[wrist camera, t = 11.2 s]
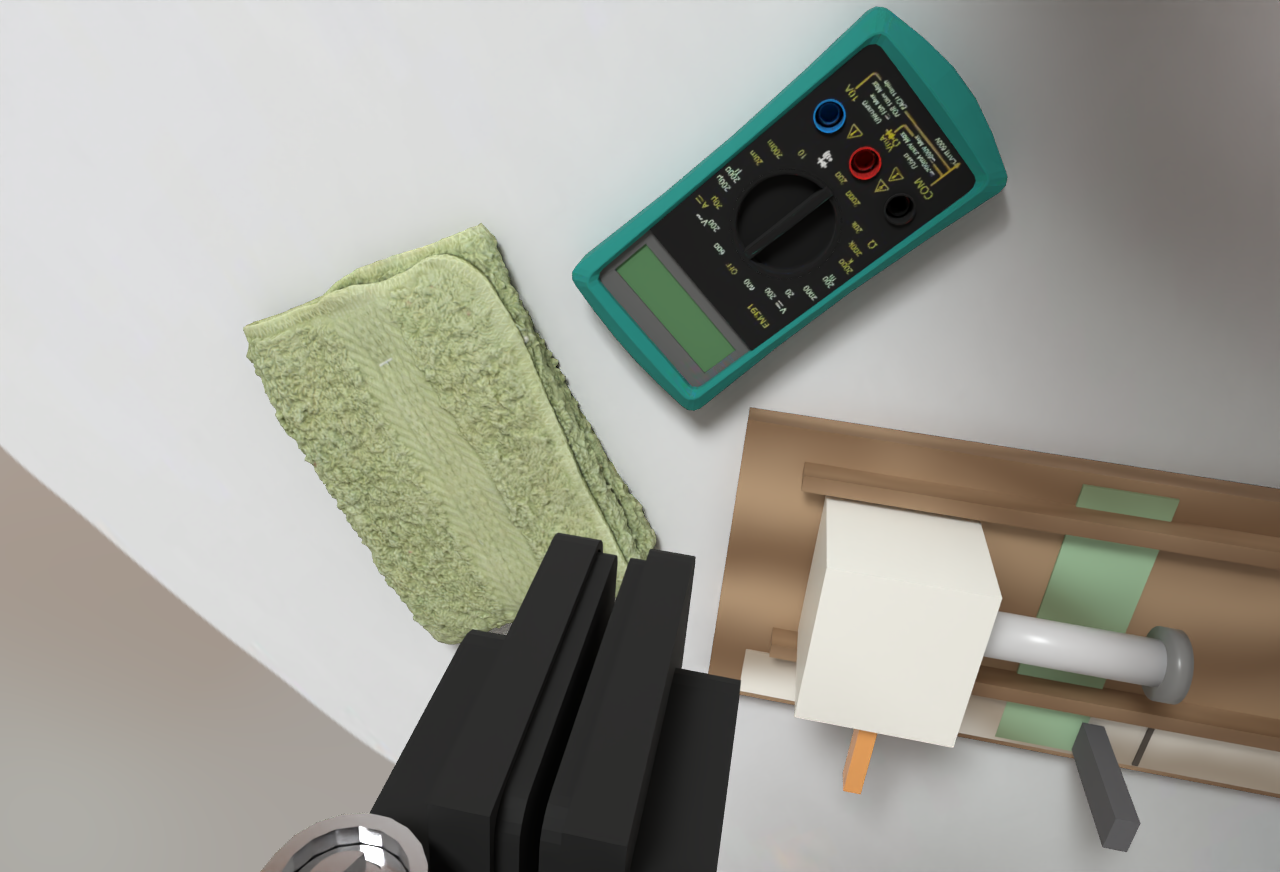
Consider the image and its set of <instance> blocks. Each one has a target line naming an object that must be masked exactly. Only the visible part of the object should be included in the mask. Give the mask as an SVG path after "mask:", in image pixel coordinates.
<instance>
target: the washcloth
mask: <svg viewBox="0 0 1280 872" xmlns="http://www.w3.org/2000/svg"><path fill="white" fill-rule="evenodd" d="M532 325H533V322H532V320H531V316H529V315H528V311H527V310H525V309H524V308H523V306H522V300H519V295H518V292H517V291H516V290H515V289H514V287H513V286H511V285H510V277H508V269H506V267H505V264H504V263H503V260H502V256H501V255H500V253H499V251H498V250H497V241H496V238H495V236H493V235H492V234H491V233H490V232H489V231H488V229H487V228H486V227H485V226H484V225H483V224H482V223H480V224H479V225H478V226H475V227H471V228H468V229H467V230H465V231H463V232H459V233H457V234H455V235H452V236H450V237H447V238H444V239H441V240H440V241H438V242H435V243H433V244H430V245H427V246H425V247H422V248H417V249H415V250H411V251H407V252H404V253H402V254H398V255H394V256H391V257H389V258H387V259H384V260H380V261H376V262H374V263H372V264H370V265H366V266H364V267H361V268H358V269H356V270H354V271H353V272H352V273H351V274H349V275H347V276H345V277H343V278H342V279H341V280H339V281H338V282H336V283H335V284H334V285H333V286H332V287H331V288H330V289H329V290H328V291H327V292H326V293H325V294H324V295H323V296H321V297H318V298H316V299H314V300H312V301H310V302H307V303H305V304H303V305H300V306H297V307H295V308H292V309H290V310H288V311H286V312H283V313H281V314H278V315H275V316H271V317H268V318H266V319H262V320H259V321H255V322H253V323H251V324H249V325H246V326H245V327H244V328H243V331H244V333H245V335H246V337H247V341H248V343H249V347H248V352H247V355H246V357H247V358H248V359H249V360H250V361H251V363H254V368H255V373H256V375H258V376H260V377H261V379H262V383H263V385H264V389H265V393H266V394H267V395H268V397H269V400H270V403H271V404H272V406H273V407H274V408H275V409H276V414H275V416H276V417H277V419H278V421H279V422H280V425H281V426H282V427H283V428H284V430H285V432H286V433H287V435H289V436H290V437H292V438H293V439H295V440H296V441H297V443H298V448H299V449H301V451H302V452H303V453H304V454H305V455H306V457H305V461H307V462H309V463H311V464H312V465H313V466H314V468H315V472H316V473H317V474H318V476H319V479H320V480H321V481H323V484H326V485H325V486H326V489H327V490H328V493H329V494H331V496H332V498H335V499H337V502H338V504H337V507H338V508H339V509H340V510H342V511H343V513H344V514H346V519H347V522H349V523H350V524H351V526H352V528H353V529H354V530H355V531H356V532H357V533H358V537H360V538H362V544H364V545H366V546H367V547H368V548H369V549H370V551H371V552H372V558H373V563H375V565H376V567H377V568H378V571H379V573H380V574H381V575H383V576H385V581H386V582H387V584H388V586H390V587H392V588H393V589H394V590H395V591H396V594H398V595H399V596H400V599H401V601H402V602H404V603H406V604H407V607H408V608H409V610H410V611H411V612H412V613H413V615H414V616H413V620H414V621H416V622H418V623H419V624H420V625H421V626H423V628H424V629H426V630H427V631H428V632H429V633H430V634H431V635H432V636H433V638H434V639H436V640H437V641H438V642H442V643H445V644H450V645H452V644H457V643H461V642H462V640H463V639H464V637H465V636H466V634H467V633H468V632H469V631H471V630H472V629H474V630H480V631H485V632H488V631H490V630H492V629H493V628H500V627H501V626H503V625H505V624H506V623H512V622H513V621H514V619H515V617H516V615H517V613H518V611H519V608H520V606H521V604H522V602H523V600H524V598H525V596H526V594H527V592H528V590H529V587H530V585H531V583H532V581H533V579H534V577H535V575H536V573H537V571H538V569H539V566H540V564H541V562H542V560H543V558H544V556H545V554H546V552H547V550H548V548H549V545H550V543H551V541H552V539H553V537H554V536H555V534H556V533H564V534H569V535H575V536H581V537H587V538H592V539H598V540H602V542H603V553H608V554H613V555H617V557H618V567H617V579H616V592H615V597H617V595H618V592H619V589H620V586H621V583H622V580H623V577H624V574H625V571H626V568H627V565H628V562H629V560H630V558H636V559H642V560H646V559H647V556H648V553H649V550H650V549H654V548H653V547H654V546H655V544H656V535H655V532H654V530H653V529H651V528H650V525H649V523H648V521H647V520H646V518H645V517H644V514H643V512H642V508H643V507H642V505H641V504H640V503H639V502H638V501H637V500H636V499H635V497H633V495H632V494H629V493H628V487H627V485H626V484H624V483H623V481H622V479H621V477H620V476H619V475H618V473H617V471H616V469H615V467H614V465H613V464H612V462H611V461H609V460H608V459H607V455H606V454H605V453H604V451H603V449H602V446H601V444H600V441H599V439H598V438H597V436H596V435H595V433H594V432H593V430H592V429H591V424H590V423H589V422H588V421H587V420H586V417H585V416H584V415H583V414H582V413H581V411H580V410H579V408H578V402H577V401H576V400H575V399H574V397H573V396H571V392H570V390H569V388H568V387H567V385H566V384H565V382H564V381H565V378H566V377H565V376H564V375H563V374H562V373H561V371H560V369H558V368H556V366H557V365H558V360H557V359H554V358H551V356H552V352H550V351H549V350H547V349H546V347H545V345H544V344H545V340H544V339H540V338H539V334H538V333H535V332H534V330H533V327H532Z"/></svg>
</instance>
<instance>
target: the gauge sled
mask: <svg viewBox="0 0 1280 872" xmlns="http://www.w3.org/2000/svg"><path fill="white" fill-rule="evenodd" d="M1001 601H1002V596H1001V592H1000V589H999V585H998V582H997V578H996V575H995V571H994V568H993V564H992V561H991V557H990V554H989V550H988V547H987V543H986V540H985V536H984V533H983V529H982V526H981V522H980V520H974V519H968V518H962V517H956V516H950V515H944V514H938V513H932V512H925V511H919V510H913V509H907V508H901V507H895V506H889V505H883V504H877V503H871V502H865V501H858V500H852V499H846V498H840V497H834V496H828V495H826V497H825V502H824V506H823V511H822V516H821V521H820V526H819V530H818V535H817V540H816V545H815V550H814V554H813V559H812V564H811V569H810V574H809V579H808V583H807V588H806V593H805V598H804V603H803V607H802V612H801V617H800V622H799V627H798V642H797V665H796V689H795V712H794V717H796V718H801V719H807V720H812V721H817V722H822V723H827V724H832V725H838V726H843V727H848V728H853V729H854V731H853V735H852V739H851V743H850V747H849V751H848V755H847V758H846V762H845V766H844V770H843V791H847V792H852V793H856V794H861V791H862V787H863V784H864V780H865V776H866V773H867V769H868V765H869V762H870V758H871V754H872V751H873V747H874V743H875V740H876V736H877V733H879V734H884V735H889V736H894V737H900V738H905V739H910V740H915V741H920V742H925V743H931V744H936V745H941V746H946V747H951V748H953V747H954V744H955V741H956V738H957V735H958V732H959V729H960V726H961V723H962V720H963V717H964V713H965V710H966V707H967V704H968V701H969V698H970V695H971V692H972V689H973V686H974V683H975V680H976V677H977V674H978V671H979V668H980V665H981V662H982V659H983V656H984V657H989V658H995V659H1000V660H1006V661H1011V662H1017V663H1022V664H1028V665H1033V666H1039V667H1044V668H1050V669H1055V670H1061V671H1066V672H1072V673H1077V674H1083V675H1088V676H1094V677H1100V678H1105V679H1111V680H1116V681H1122V682H1127V683H1133V684H1138V685H1141V686H1142V689H1143V691H1144V693H1145V695H1146V696H1147V698H1148V699H1150V700H1152V701H1156V702H1162V703H1167V704H1173V705H1175V704H1178V703H1180V702H1181V701H1182V700H1183V699H1184V698H1185V697H1186V695H1187V693H1188V691H1189V689H1190V686H1191V682H1192V678H1193V671H1194V655H1193V649H1192V645H1191V642H1190V639H1189V637H1188V636H1187V634H1186V633H1185V632H1184V631H1182V630H1180V629H1174V628H1168V627H1162V626H1156V627H1154V628H1152V629H1151V630H1150V631H1149V633H1148V634H1147V636H1146V637H1143V636H1137V635H1131V634H1125V633H1120V632H1114V631H1108V630H1103V629H1097V628H1091V627H1085V626H1080V625H1074V624H1068V623H1063V622H1057V621H1051V620H1046V619H1040V618H1034V617H1028V616H1023V615H1017V614H1011V613H1006V612H1000V611H998V610H999V607H1000V604H1001Z"/></svg>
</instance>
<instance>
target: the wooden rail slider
mask: <svg viewBox="0 0 1280 872" xmlns="http://www.w3.org/2000/svg"><path fill="white" fill-rule="evenodd" d="M826 495H828V496H834V497H840V498H846V499H852V500H858V501H865V502H871V503H877V504H883V505H889V506H895V507H901V508H907V509H913V510H919V511H925V512H932V513H938V514H944V515H950V516H956V517H962V518H968V519H974V520H980V522H981V526H982V529H983V533H984V536H985V540H986V543H987V547H988V550H989V554H990V557H991V561H992V564H993V568H994V571H995V575H996V578H997V582H998V585H999V589H1000V592H1001V596H1002V601H1001V604H1000V607H999V610H998V611H1000V612H1006V613H1011V614H1017V615H1023V616H1028V617H1034V618H1040V619H1046V620H1051V621H1057V622H1063V623H1068V624H1074V625H1080V626H1085V627H1091V628H1097V629H1103V630H1108V631H1114V632H1120V633H1125V634H1131V635H1137V636H1143V637H1146V636H1147V634H1148V633H1149V631H1150V630H1151V629H1152V628H1154V627H1156V626H1162V627H1168V628H1174V629H1180V630H1182V631H1184V632H1185V633H1186V634H1187V636H1188V637H1189V639H1190V642H1191V645H1192V649H1193V655H1194V671H1193V678H1192V682H1191V686H1190V689H1189V691H1188V693H1187V695H1186V697H1185V698H1184V699H1183V700H1182V701H1181V702H1180V703H1178V704H1175V705H1173V704H1167V703H1162V702H1156V701H1152V700H1150V699H1148V698H1147V696H1146V695H1145V693H1144V691H1143V689H1142V686H1141V685H1138V684H1133V683H1127V682H1122V681H1116V680H1111V679H1105V678H1100V677H1094V676H1088V675H1083V674H1077V673H1072V672H1066V671H1061V670H1055V669H1050V668H1044V667H1039V666H1033V665H1028V664H1022V663H1017V662H1011V661H1006V660H1000V659H995V658H989V657H984V656H983V659H982V662H981V665H980V668H979V671H978V674H977V677H976V680H975V683H974V686H973V689H972V692H971V695H970V698H969V701H968V704H967V707H966V710H965V713H964V717H963V720H962V723H961V726H960V729H959V732H958V735H957V736H959V737H964V738H969V739H975V740H980V741H985V742H990V743H996V744H1001V745H1006V746H1011V747H1016V748H1022V749H1027V750H1032V751H1037V752H1042V753H1048V754H1053V755H1058V756H1063V757H1069V758H1074V756H1073V753H1072V750H1071V749H1072V747H1073V745H1074V742H1075V740H1076V737H1077V735H1078V732H1079V730H1080V727H1081V725H1082V722H1083V723H1088V724H1094V725H1099V726H1104V727H1105V730H1106V733H1107V735H1108V738H1109V741H1110V743H1111V746H1112V749H1113V751H1114V754H1115V757H1116V759H1117V762H1118V765H1119V767H1121V768H1126V769H1131V770H1136V771H1142V772H1147V773H1152V774H1157V775H1162V776H1168V777H1173V778H1178V779H1183V780H1188V781H1194V782H1199V783H1204V784H1209V785H1214V786H1220V787H1225V788H1230V789H1235V790H1241V791H1246V792H1251V793H1256V794H1261V795H1267V796H1272V797H1277V798H1280V489H1275V488H1269V487H1263V486H1256V485H1250V484H1243V483H1237V482H1230V481H1224V480H1217V479H1211V478H1204V477H1198V476H1191V475H1185V474H1178V473H1172V472H1165V471H1159V470H1152V469H1146V468H1139V467H1133V466H1127V465H1120V464H1114V463H1107V462H1101V461H1094V460H1088V459H1081V458H1075V457H1068V456H1062V455H1055V454H1049V453H1042V452H1036V451H1029V450H1023V449H1016V448H1010V447H1003V446H997V445H990V444H984V443H978V442H971V441H965V440H958V439H952V438H945V437H939V436H932V435H926V434H919V433H913V432H906V431H900V430H893V429H887V428H880V427H874V426H867V425H861V424H854V423H848V422H841V421H835V420H829V419H822V418H816V417H809V416H803V415H796V414H790V413H783V412H777V411H770V410H764V409H757V408H751V407H750V411H749V417H748V423H747V429H746V436H745V442H744V449H743V455H742V461H741V468H740V474H739V481H738V487H737V493H736V500H735V506H734V513H733V519H732V525H731V532H730V538H729V545H728V551H727V557H726V564H725V570H724V577H723V583H722V589H721V596H720V602H719V608H718V615H717V621H716V628H715V634H714V640H713V647H712V653H711V660H710V666H709V672H708V674H711V675H716V676H722V677H727V678H732V679H737V680H741V687H740V695H745V696H751V697H756V698H761V699H766V700H771V701H777V702H782V703H787V704H792V705H795V689H796V665H797V642H798V627H799V622H800V617H801V612H802V607H803V603H804V598H805V593H806V588H807V583H808V579H809V574H810V569H811V564H812V559H813V554H814V550H815V545H816V540H817V535H818V530H819V526H820V521H821V516H822V511H823V506H824V502H825V497H826Z"/></svg>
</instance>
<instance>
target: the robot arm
mask: <svg viewBox="0 0 1280 872" xmlns="http://www.w3.org/2000/svg"><path fill="white" fill-rule="evenodd" d="M617 567H618V557H617V555H613V554H608V553H603V542H602V540H598V539H592V538H587V537H581V536H575V535H569V534H564V533H556V534H555V536H554V537H553V539H552V541H551V543H550V545H549V548H548V550H547V552H546V554H545V556H544V558H543V560H542V562H541V564H540V566H539V569H538V571H537V573H536V575H535V577H534V579H533V581H532V583H531V585H530V587H529V590H528V592H527V594H526V596H525V598H524V600H523V602H522V604H521V606H520V608H519V611H518V613H517V615H516V617H515V619H514V621H513V623H512V625H511V627H510V629H509V632H508V634H507V636H506V635H501V634H495V633H490V632H485V631H480V630H474V629H472V630H471V631H469V632H468V633H467V634H466V636H465V637H464V639H463V640H462V642H461V644H460V645H459V647H458V649H457V651H456V653H455V655H454V657H453V658H452V660H451V662H450V664H449V666H448V668H447V670H446V672H445V673H444V675H443V677H442V679H441V681H440V683H439V685H438V686H437V688H436V690H435V692H434V694H433V696H432V698H431V700H430V701H429V703H428V705H427V707H426V709H425V711H424V713H423V714H422V716H421V718H420V720H419V722H418V724H417V726H416V728H415V729H414V731H413V733H412V735H411V737H410V739H409V741H408V742H407V744H406V746H405V748H404V750H403V752H402V754H401V755H400V757H399V759H398V761H397V763H396V765H395V767H394V769H393V770H392V772H391V774H390V776H389V778H388V780H387V782H386V784H385V785H384V787H383V789H382V791H381V793H380V795H379V797H378V798H377V800H376V802H375V804H374V806H373V808H372V810H371V811H370V813H357V814H341V815H338V816H335V817H332V818H328V819H325V820H322V821H319V822H316V823H314V824H313V825H311V826H309V827H308V828H306V829H304V830H303V831H301V832H299V833H297V834H296V835H294V836H293V837H292V838H291V839H290V840H289V841H288V842H287V843H285V844H284V845H283V846H282V847H281V849H279V850H278V851H277V852H276V853H275V854H274V855H273V856H272V858H271V859H270V860H269V861H268V863H267V864H266V865H265V866H264V868H263V869H262V870H261V871H260V872H716V871H717V864H718V856H719V848H720V841H721V833H722V825H723V818H724V810H725V803H726V795H727V787H728V780H729V772H730V764H731V757H732V749H733V741H734V734H735V726H736V718H737V711H738V703H739V695H740V687H741V680H737V679H732V678H727V677H722V676H716V675H711V674H706V673H701V672H695V671H690V670H685V669H681V668H682V661H683V653H684V645H685V638H686V630H687V622H688V615H689V607H690V599H691V592H692V584H693V576H694V568H695V556H690V555H684V554H679V553H673V552H667V551H661V550H656V549H650V550H649V553H648V556H647V559H646V560H642V559H636V558H630V560H629V562H628V565H627V568H626V571H625V574H624V577H623V580H622V583H621V586H620V589H619V592H618V595H617V598H616V601H615V592H616V579H617Z"/></svg>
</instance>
